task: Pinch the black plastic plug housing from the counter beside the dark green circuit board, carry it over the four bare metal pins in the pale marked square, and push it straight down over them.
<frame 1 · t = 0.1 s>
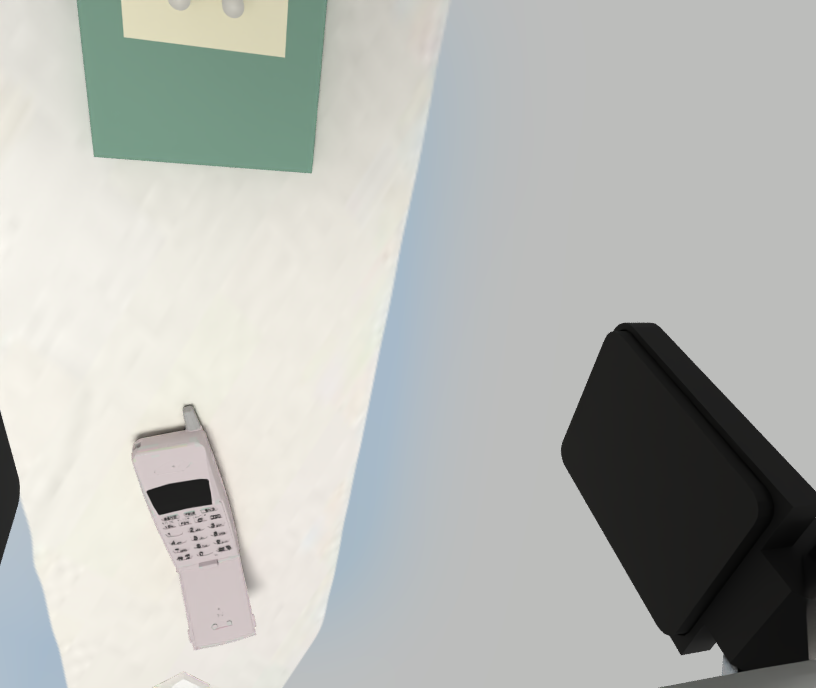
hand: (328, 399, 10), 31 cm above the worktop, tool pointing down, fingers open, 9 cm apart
mobile phone: (198, 508, 56), on the worktop
headphone stand: (174, 687, 72), on the worktop
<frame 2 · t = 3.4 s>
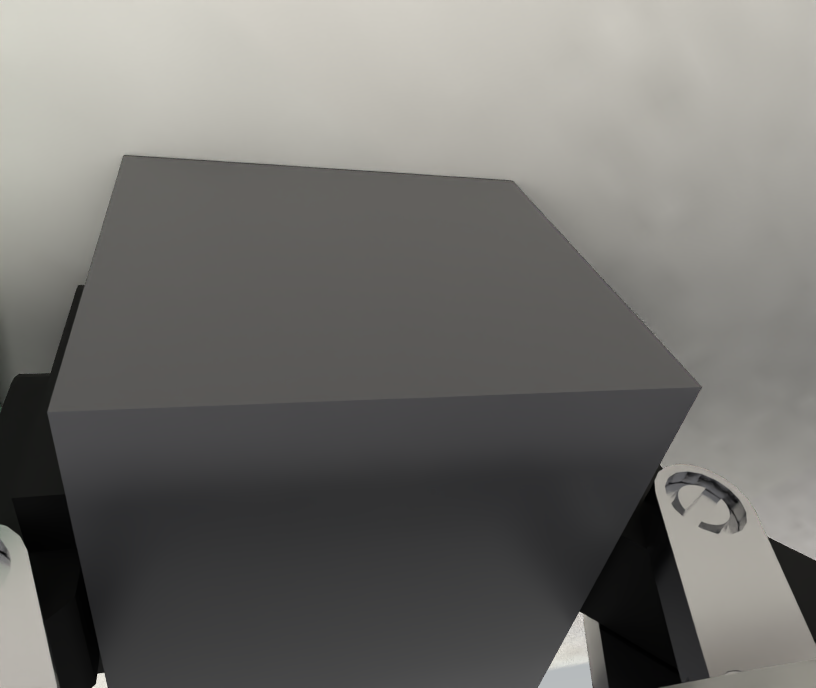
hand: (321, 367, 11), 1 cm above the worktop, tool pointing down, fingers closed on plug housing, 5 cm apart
plug housing: (317, 348, 11), on the worktop, touching gripper
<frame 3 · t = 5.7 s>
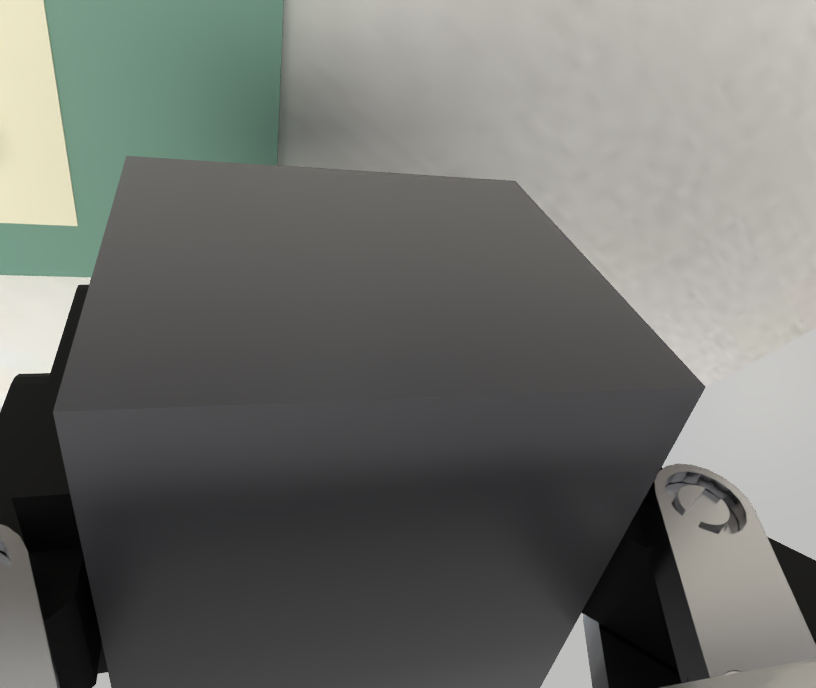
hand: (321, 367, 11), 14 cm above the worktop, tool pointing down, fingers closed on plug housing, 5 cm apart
plug housing: (319, 348, 11), point 14 cm above the worktop, touching gripper
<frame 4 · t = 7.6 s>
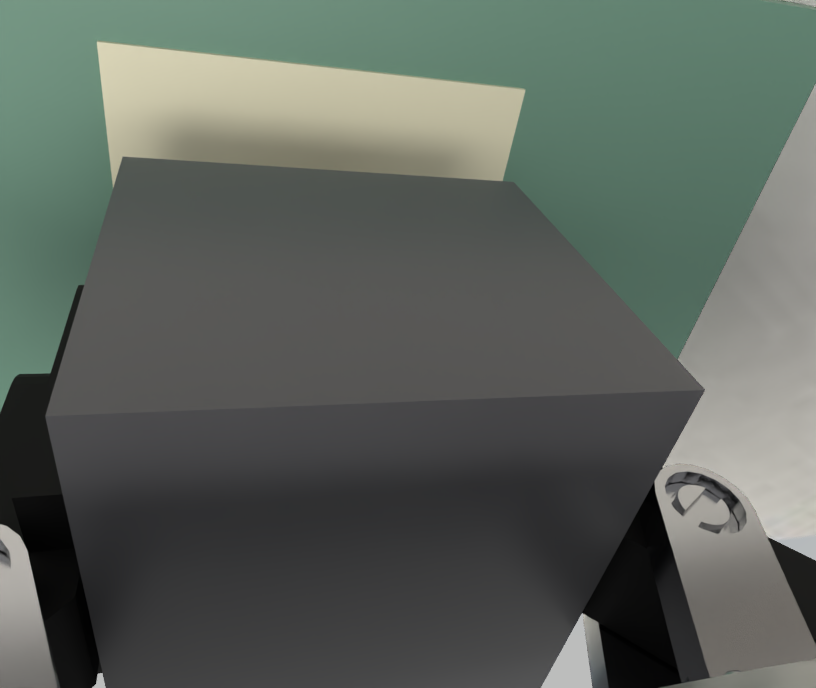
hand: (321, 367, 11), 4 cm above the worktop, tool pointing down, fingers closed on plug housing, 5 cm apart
plug housing: (317, 349, 11), point 4 cm above the worktop, touching gripper
header board: (306, 244, 14), on the worktop
when the fingers open (2 cm above the worktop, at t = 8.4 s): plug housing stays where it is, resting on header board.
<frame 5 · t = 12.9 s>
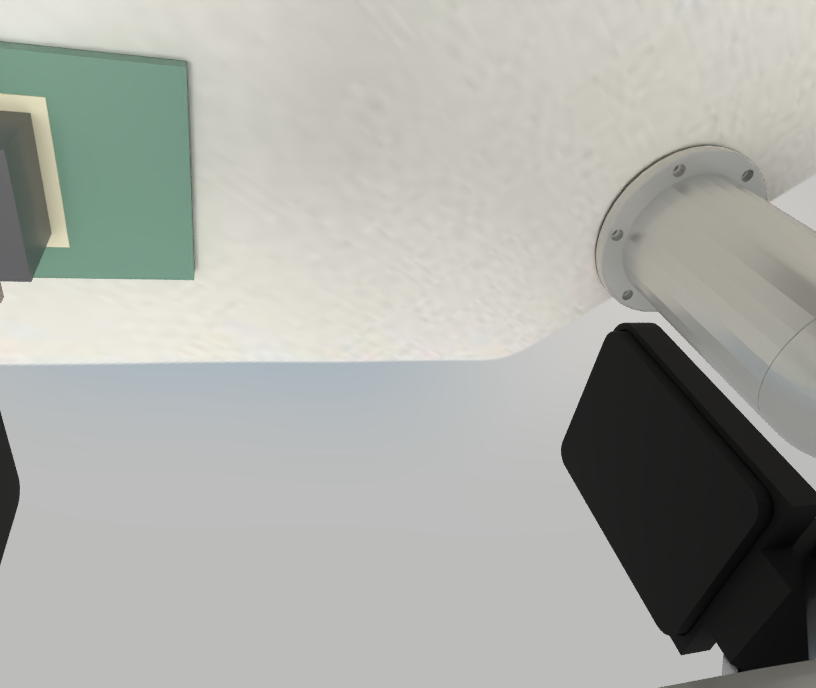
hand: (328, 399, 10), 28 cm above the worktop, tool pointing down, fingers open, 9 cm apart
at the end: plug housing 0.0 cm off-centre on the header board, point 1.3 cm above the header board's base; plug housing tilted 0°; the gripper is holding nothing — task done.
